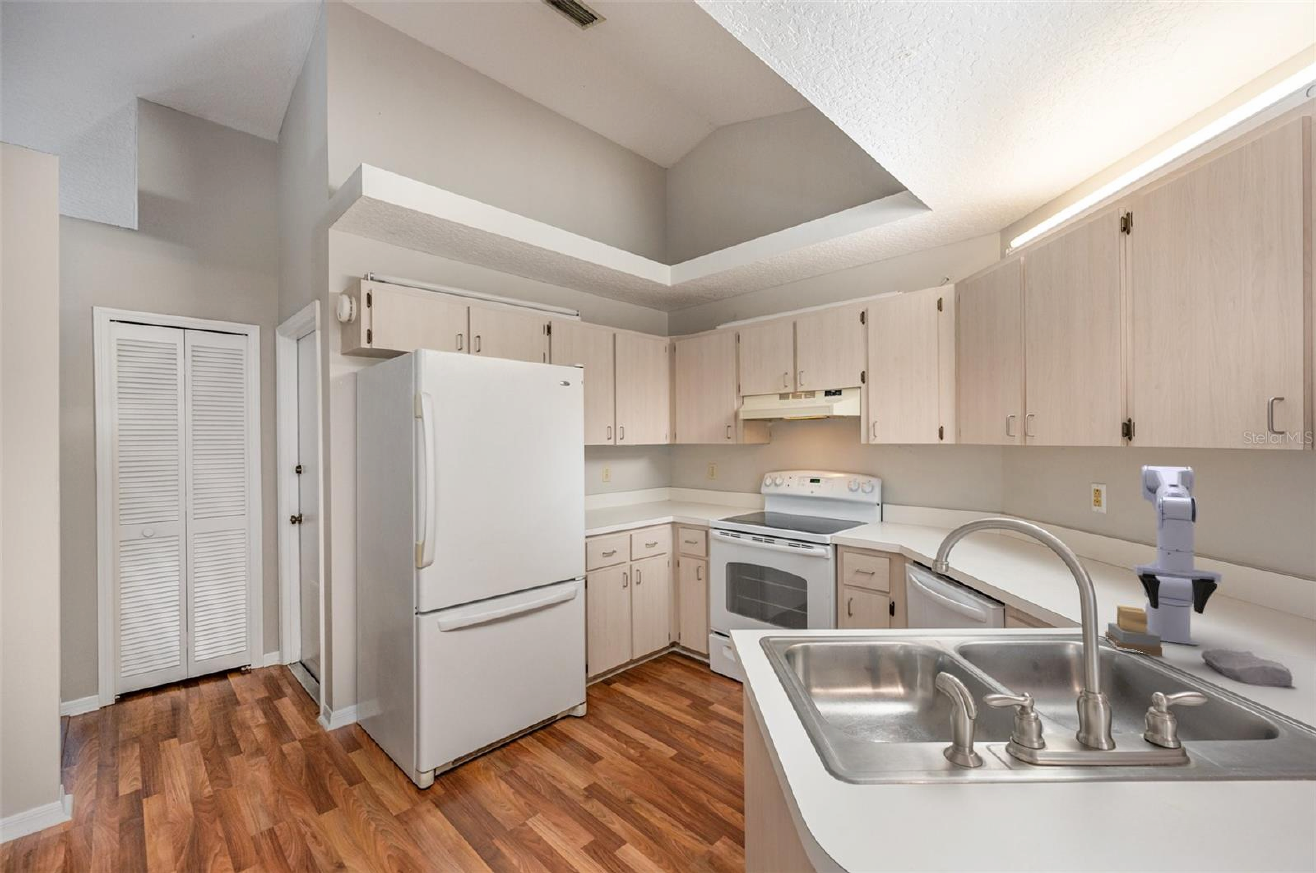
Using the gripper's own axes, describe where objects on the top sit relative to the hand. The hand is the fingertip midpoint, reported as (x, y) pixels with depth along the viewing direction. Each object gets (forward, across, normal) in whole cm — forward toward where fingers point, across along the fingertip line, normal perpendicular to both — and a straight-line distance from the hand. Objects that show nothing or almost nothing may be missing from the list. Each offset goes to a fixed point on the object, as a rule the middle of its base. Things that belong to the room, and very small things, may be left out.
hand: (1176, 610), depth 121 cm
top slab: (+8, -7, +2) cm, 11 cm away
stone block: (+11, +8, -6) cm, 15 cm away
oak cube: (+6, -7, +3) cm, 10 cm away
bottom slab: (+11, -7, +3) cm, 13 cm away
